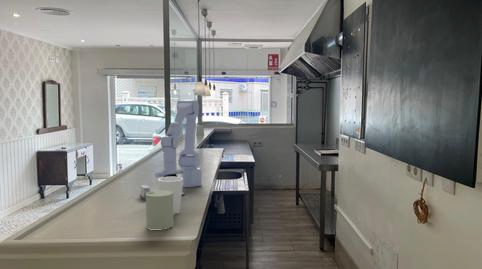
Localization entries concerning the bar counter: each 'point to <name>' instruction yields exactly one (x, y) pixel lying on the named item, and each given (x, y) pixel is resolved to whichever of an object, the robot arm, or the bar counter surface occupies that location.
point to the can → (159, 209)
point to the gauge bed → (146, 189)
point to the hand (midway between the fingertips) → (170, 190)
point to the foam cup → (172, 189)
